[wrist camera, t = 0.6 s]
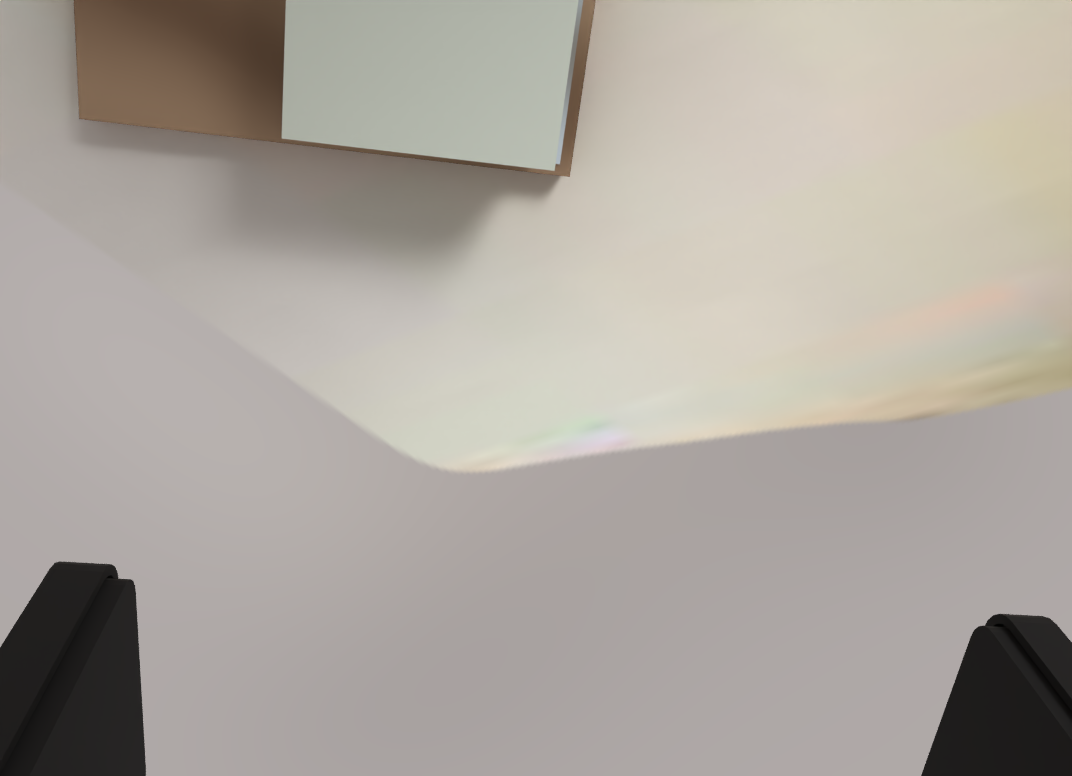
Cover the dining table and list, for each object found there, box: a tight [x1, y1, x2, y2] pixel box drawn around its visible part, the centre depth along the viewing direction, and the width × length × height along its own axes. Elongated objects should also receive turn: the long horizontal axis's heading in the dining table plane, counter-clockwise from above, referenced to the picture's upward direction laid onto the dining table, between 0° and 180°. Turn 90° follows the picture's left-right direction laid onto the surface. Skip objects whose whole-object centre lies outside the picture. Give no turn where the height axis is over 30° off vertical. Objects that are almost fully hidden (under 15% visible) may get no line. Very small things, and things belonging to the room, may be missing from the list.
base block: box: [282, 0, 578, 171], centre depth 30 cm, size 8×8×4 cm
